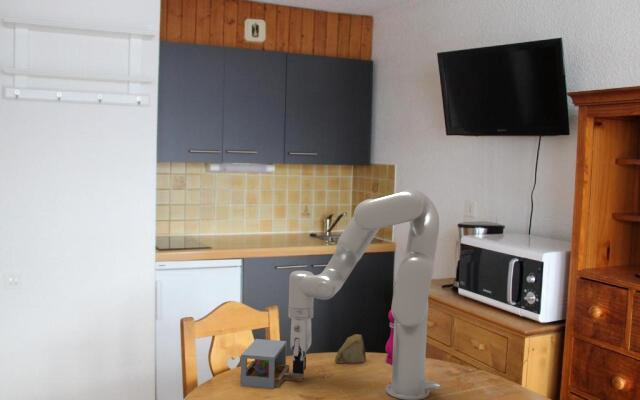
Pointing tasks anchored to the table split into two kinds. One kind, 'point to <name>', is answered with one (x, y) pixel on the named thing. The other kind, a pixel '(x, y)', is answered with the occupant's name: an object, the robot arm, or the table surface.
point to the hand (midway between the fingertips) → (299, 370)
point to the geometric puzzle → (262, 367)
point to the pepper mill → (390, 340)
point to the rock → (352, 350)
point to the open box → (263, 351)
